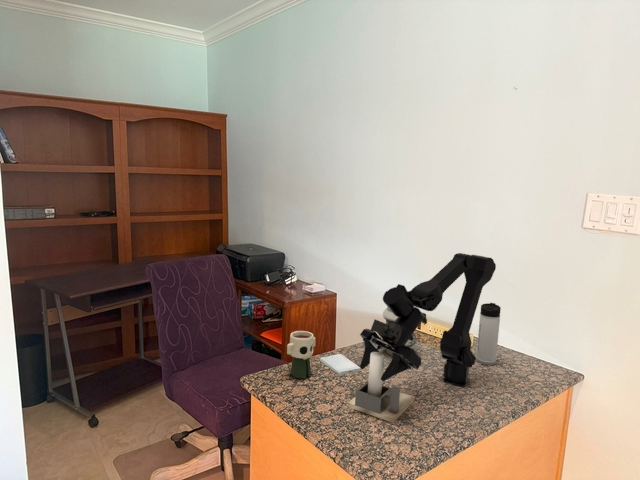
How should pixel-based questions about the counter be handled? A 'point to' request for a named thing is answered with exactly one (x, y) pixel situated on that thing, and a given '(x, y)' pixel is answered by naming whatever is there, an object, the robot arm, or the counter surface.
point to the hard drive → (340, 364)
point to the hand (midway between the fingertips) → (371, 374)
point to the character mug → (301, 352)
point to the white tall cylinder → (375, 373)
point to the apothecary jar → (391, 317)
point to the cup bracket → (378, 399)
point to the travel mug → (488, 334)
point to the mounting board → (386, 415)
